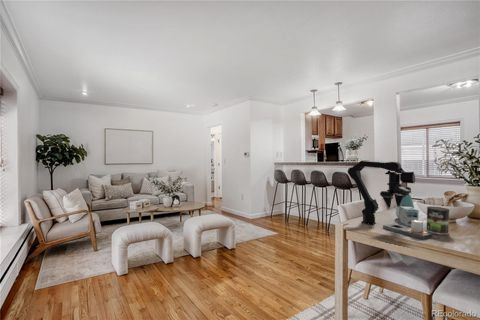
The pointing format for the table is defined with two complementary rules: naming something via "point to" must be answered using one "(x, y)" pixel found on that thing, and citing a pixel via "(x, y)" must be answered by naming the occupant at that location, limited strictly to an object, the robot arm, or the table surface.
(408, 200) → the vase
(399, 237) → the table surface
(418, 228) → the steel peg
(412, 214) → the light bulb box
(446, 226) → the coffee can
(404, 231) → the rail
